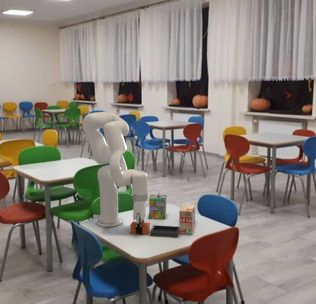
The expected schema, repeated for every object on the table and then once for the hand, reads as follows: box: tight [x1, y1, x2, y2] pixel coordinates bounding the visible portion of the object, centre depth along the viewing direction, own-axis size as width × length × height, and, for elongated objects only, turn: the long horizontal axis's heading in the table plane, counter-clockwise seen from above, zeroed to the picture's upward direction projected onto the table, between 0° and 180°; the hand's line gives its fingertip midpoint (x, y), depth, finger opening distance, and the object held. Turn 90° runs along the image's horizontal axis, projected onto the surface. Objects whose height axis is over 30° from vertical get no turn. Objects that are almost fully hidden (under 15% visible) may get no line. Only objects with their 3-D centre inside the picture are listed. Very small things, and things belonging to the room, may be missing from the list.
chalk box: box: [148, 190, 168, 220], centre depth 235 cm, size 9×9×15 cm
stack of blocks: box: [178, 203, 196, 236], centre depth 218 cm, size 21×6×12 cm, turn 168°
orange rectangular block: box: [129, 221, 151, 236], centre depth 212 cm, size 9×5×4 cm, turn 79°
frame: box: [149, 224, 180, 238], centre depth 211 cm, size 14×10×2 cm
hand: (140, 231), depth 212 cm, fingers closed on orange rectangular block, 5 cm apart
